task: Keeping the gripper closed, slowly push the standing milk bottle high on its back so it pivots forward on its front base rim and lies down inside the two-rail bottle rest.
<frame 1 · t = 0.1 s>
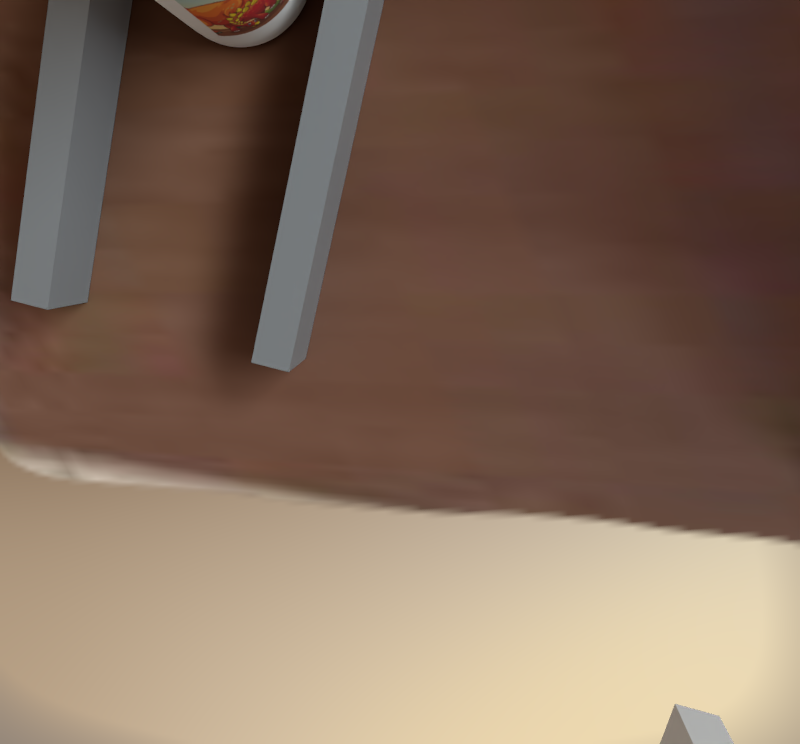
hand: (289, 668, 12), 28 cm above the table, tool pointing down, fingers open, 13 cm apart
bottle rest: (219, 100, 38), on the table
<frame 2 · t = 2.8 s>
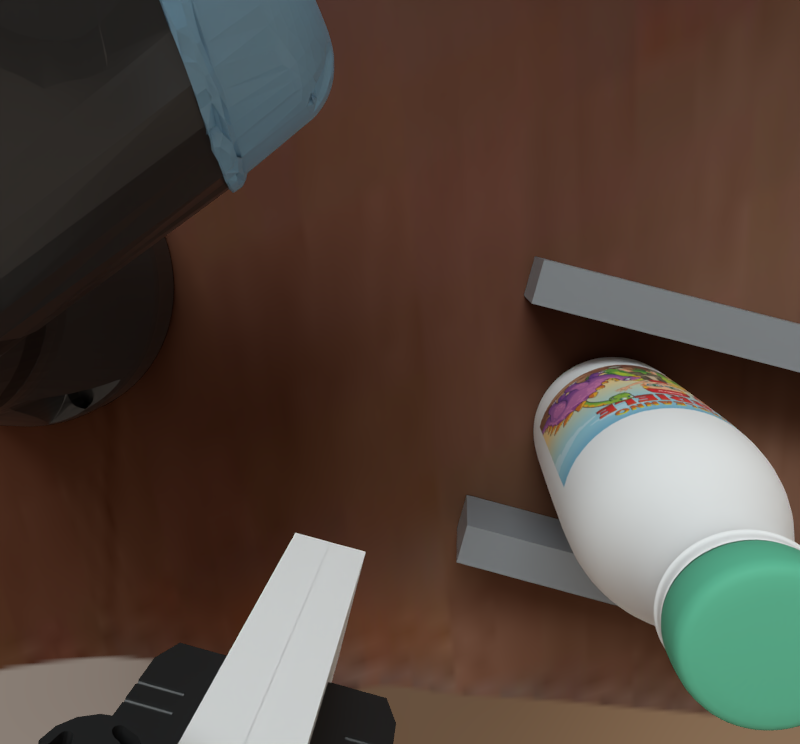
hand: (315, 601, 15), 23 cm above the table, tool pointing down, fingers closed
milk bottle: (606, 426, 37), on the table
bottle rest: (730, 460, 36), on the table
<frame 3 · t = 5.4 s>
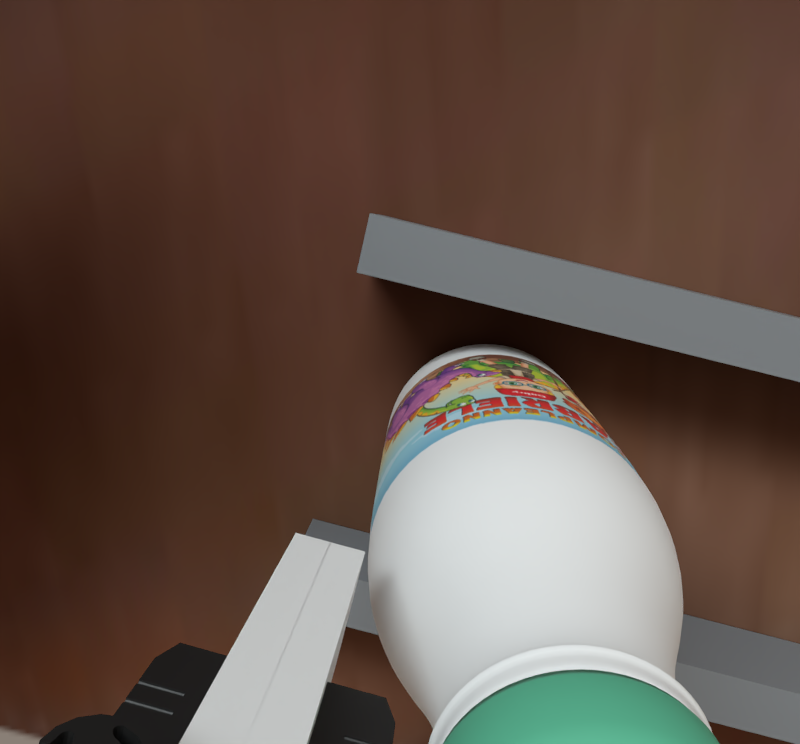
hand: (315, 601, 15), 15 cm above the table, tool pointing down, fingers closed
milk bottle: (482, 432, 29), on the table, touching gripper
bottle rest: (639, 472, 29), on the table
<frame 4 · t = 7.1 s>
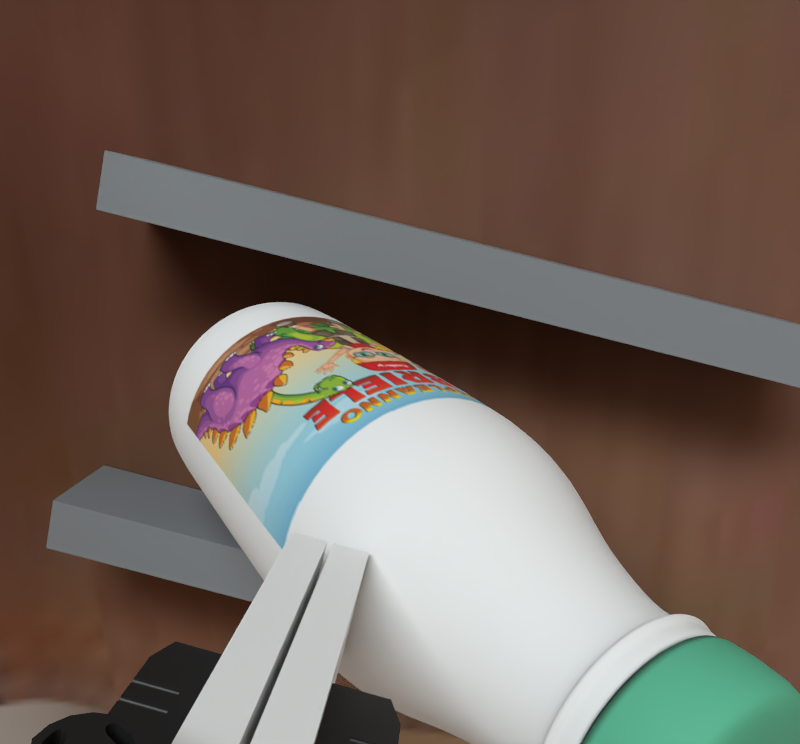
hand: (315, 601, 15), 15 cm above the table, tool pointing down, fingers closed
milk bottle: (264, 394, 27), point 2 cm above the table, touching gripper
bottle rest: (415, 418, 29), on the table
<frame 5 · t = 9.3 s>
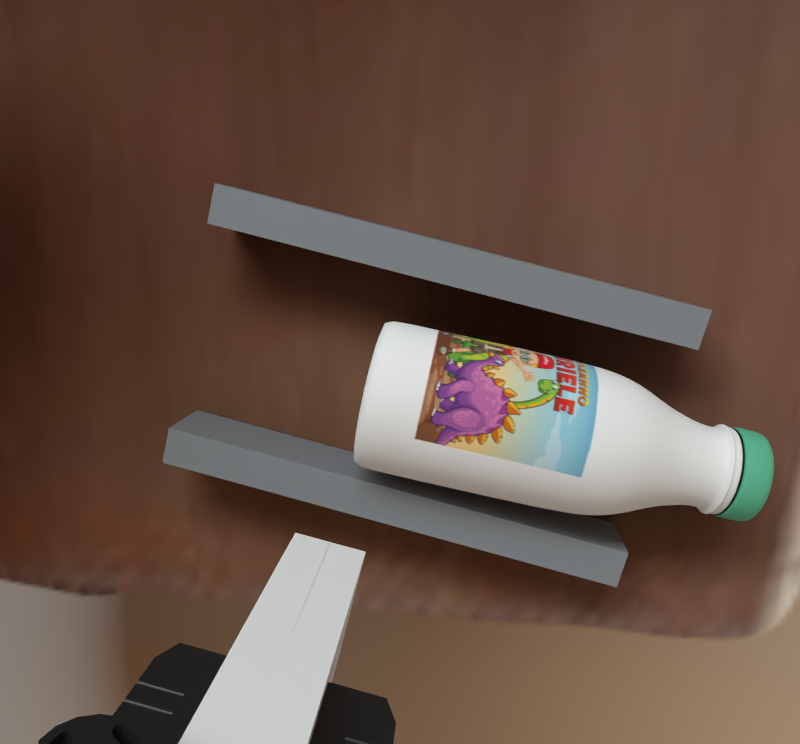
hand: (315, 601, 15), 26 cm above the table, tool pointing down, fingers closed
milk bottle: (363, 390, 36), point 4 cm above the table
bottle rest: (425, 375, 40), on the table
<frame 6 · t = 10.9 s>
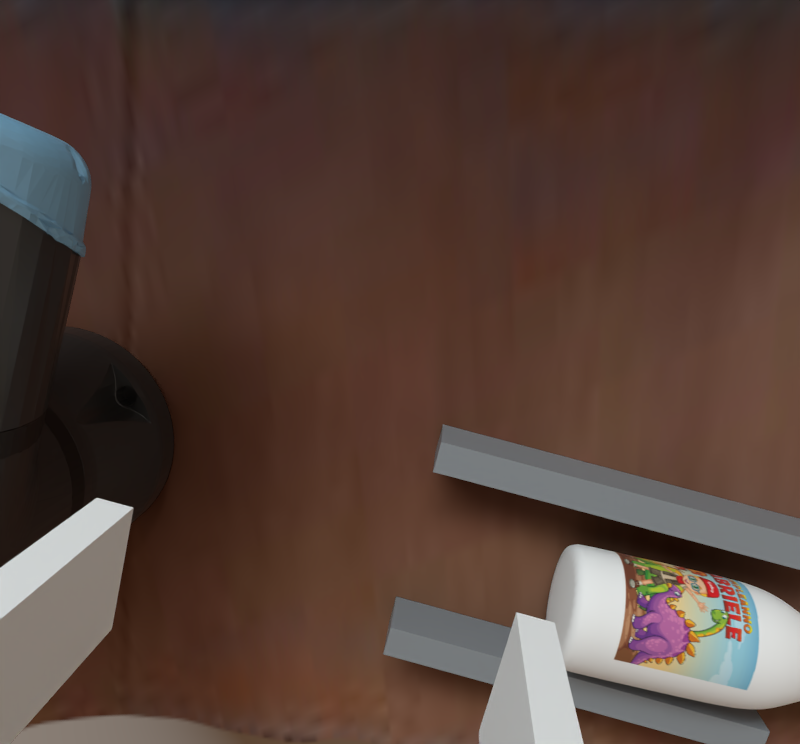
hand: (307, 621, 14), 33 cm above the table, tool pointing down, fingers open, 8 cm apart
milk bottle: (555, 602, 45), point 4 cm above the table
bottle rest: (592, 573, 48), on the table
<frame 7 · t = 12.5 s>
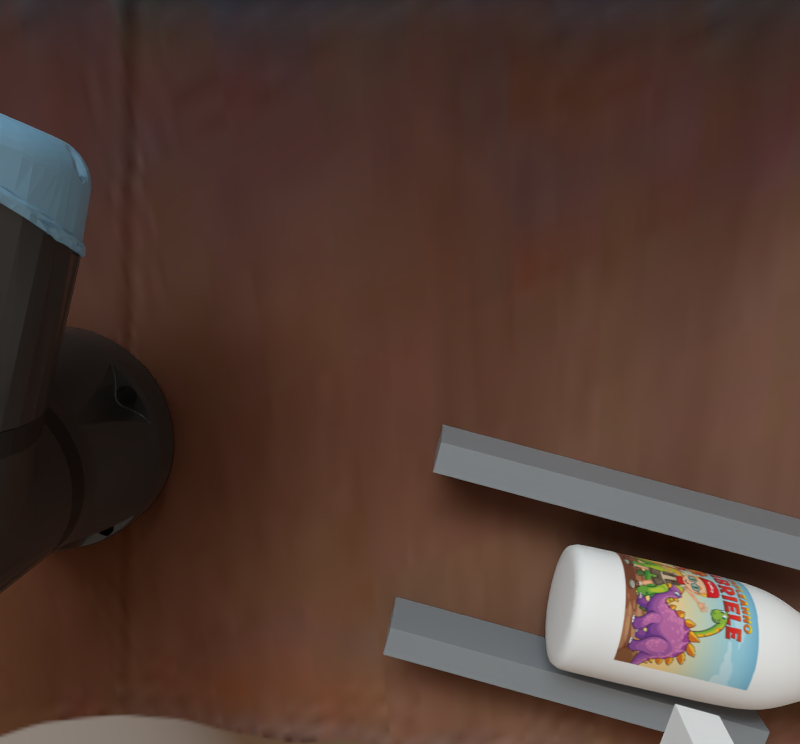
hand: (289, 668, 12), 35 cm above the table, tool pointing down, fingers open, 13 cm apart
milk bottle: (555, 602, 45), point 4 cm above the table
bottle rest: (592, 574, 48), on the table
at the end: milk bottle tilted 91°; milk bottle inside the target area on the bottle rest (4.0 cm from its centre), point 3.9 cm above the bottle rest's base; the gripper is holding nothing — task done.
